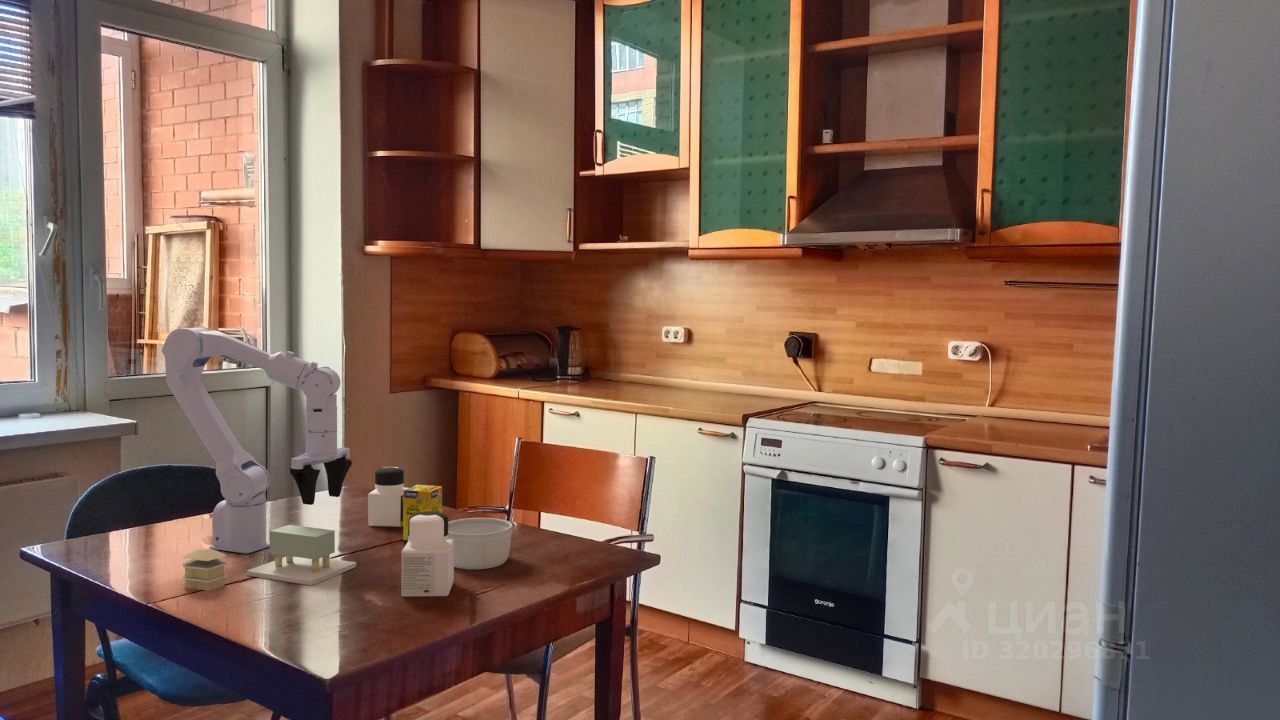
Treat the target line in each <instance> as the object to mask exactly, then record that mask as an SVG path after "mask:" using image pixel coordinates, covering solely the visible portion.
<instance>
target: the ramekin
mask: <svg viewBox="0 0 1280 720" xmlns="http://www.w3.org/2000/svg"><path fill="white" fill-rule="evenodd" d="M513 531H514V526H513V523H512V522H510V521H508V520H505V519H500V518H493V517H470V518H461V519H459V518H458V519H454V520H451V521H448V539H453V540H454V568H456V569H461V570H486V569H492V568H496V567H499V566H501V565H503V564H505V562H506V561H507V559H509V555H510V550H511V541H512V534H513Z"/></svg>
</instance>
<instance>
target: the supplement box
mask: <svg viewBox="0 0 1280 720" xmlns="http://www.w3.org/2000/svg"><path fill="white" fill-rule="evenodd" d="M408 488H409V489H405V490H404V507H403V525H402V528H403V531H402V533H403V534H402V544H405V545H406V544H407V542H408V541H409V540H408V519H409V518H410V516H412V515H414V514H416V513H419V512H425V511H435V512H441V513H443V486H441V485H426V484H415V485H414V486H411V487H408Z"/></svg>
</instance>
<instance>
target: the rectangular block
mask: <svg viewBox="0 0 1280 720" xmlns="http://www.w3.org/2000/svg"><path fill="white" fill-rule="evenodd" d="M335 533H336V531H335V530H333V529H326V528H325V529H324V528H320V527H319V528H318V527H309V526H304V525H303V526H302V525H293V524H287V525H284V526H280V527H277V528H275V529H272V530H269V541H270V546H269V554H272V555H275V554H279V555H282V556H285V557H286V556H293V557H300V558H307V559H314V560H317V559H319V558H322V557H324V556H327V555H330V556H331V555H332V554H335V553H336V552H335V551H336V545H335V543H336V541H335V540H336V539H335V537H336V534H335Z"/></svg>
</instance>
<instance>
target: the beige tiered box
mask: <svg viewBox="0 0 1280 720" xmlns="http://www.w3.org/2000/svg"><path fill="white" fill-rule="evenodd" d="M226 556H228V555H227V554H225V553H223V552H220V551H219V550H217V549H210V548H204V549H203V548H202V549H196V550H194V551H191V552H189V553H186V554H184V555H183V556H182V558H183V559H185V560H186V559H187V560H188V561H185V562H183V563H182V567H183V568H184V569H185V570H184V574H183V575H182V579H183V580H184V581H185V582H184V583H185V584H184V585H185V589H189V590H190V589H198V590H202V591H206V592H209V591H213V590H216V589H218V588H222V587H225V585H226V583H225V578H226V577H228V574H227V573H225V566H227V565H228V562H227V561H224V560H222V559H220V558H223V557H226Z"/></svg>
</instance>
